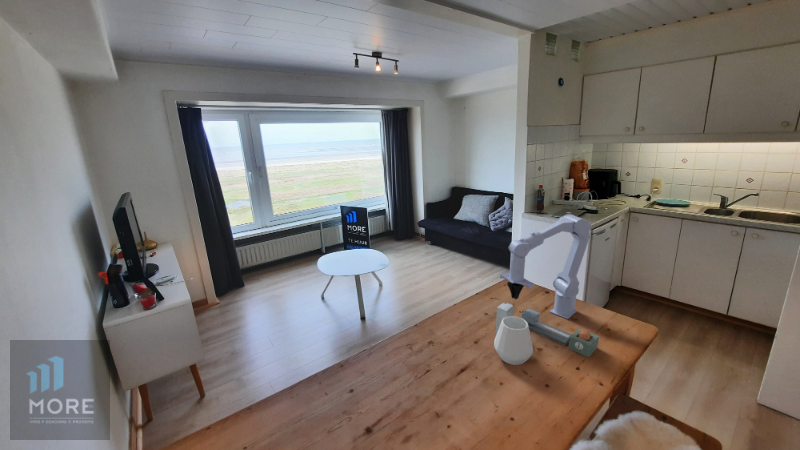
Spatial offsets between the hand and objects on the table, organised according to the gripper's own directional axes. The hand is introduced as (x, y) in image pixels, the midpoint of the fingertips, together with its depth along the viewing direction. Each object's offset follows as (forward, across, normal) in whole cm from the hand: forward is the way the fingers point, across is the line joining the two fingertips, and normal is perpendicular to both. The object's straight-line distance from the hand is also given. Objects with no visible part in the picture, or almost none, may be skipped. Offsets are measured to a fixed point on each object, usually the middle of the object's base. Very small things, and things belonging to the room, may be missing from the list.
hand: (515, 298), depth 139 cm
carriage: (+8, +7, 0) cm, 11 cm away
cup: (+10, +14, -23) cm, 28 cm away
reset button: (+7, +28, 0) cm, 29 cm away
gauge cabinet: (+9, +28, 0) cm, 30 cm away
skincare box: (+10, +4, -13) cm, 17 cm away
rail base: (+9, +14, 0) cm, 16 cm away
